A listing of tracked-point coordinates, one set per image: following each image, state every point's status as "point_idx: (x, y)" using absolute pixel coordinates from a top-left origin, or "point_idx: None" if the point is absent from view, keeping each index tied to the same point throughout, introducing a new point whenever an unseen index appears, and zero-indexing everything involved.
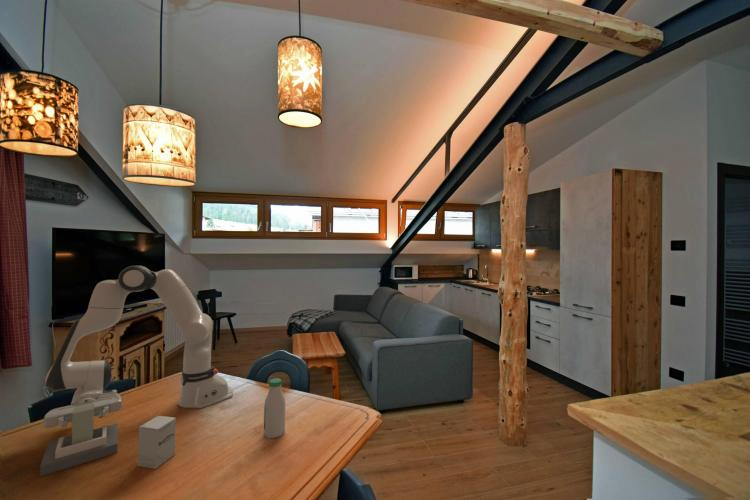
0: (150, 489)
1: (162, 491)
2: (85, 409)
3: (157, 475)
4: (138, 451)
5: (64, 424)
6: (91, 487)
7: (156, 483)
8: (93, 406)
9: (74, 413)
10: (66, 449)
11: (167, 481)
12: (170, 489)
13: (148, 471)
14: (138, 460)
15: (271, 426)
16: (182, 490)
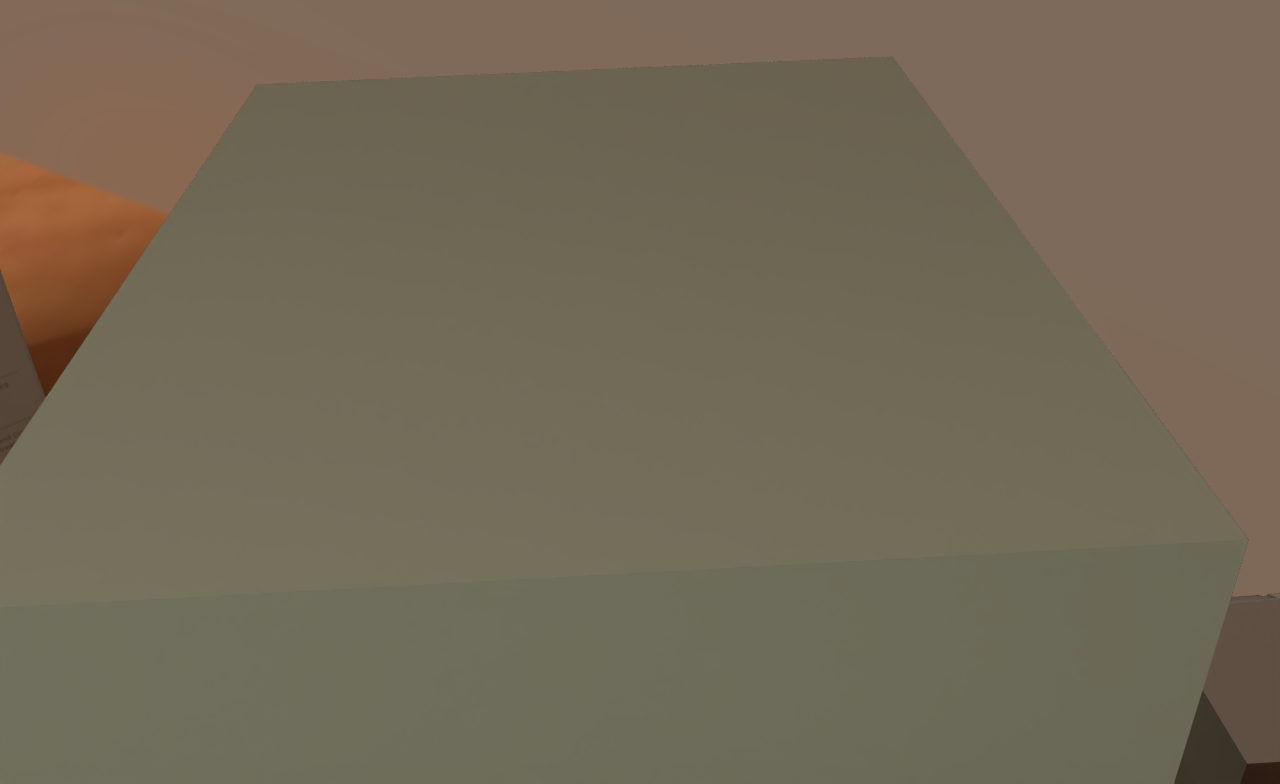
0: (138, 230)
1: (93, 199)
2: (502, 120)
3: (21, 305)
4: (8, 296)
5: None
6: None
7: (78, 253)
8: (184, 200)
9: (834, 65)
10: None
11: (14, 243)
12: (49, 196)
13: (40, 364)
14: (42, 392)
15: None
16: (6, 173)
